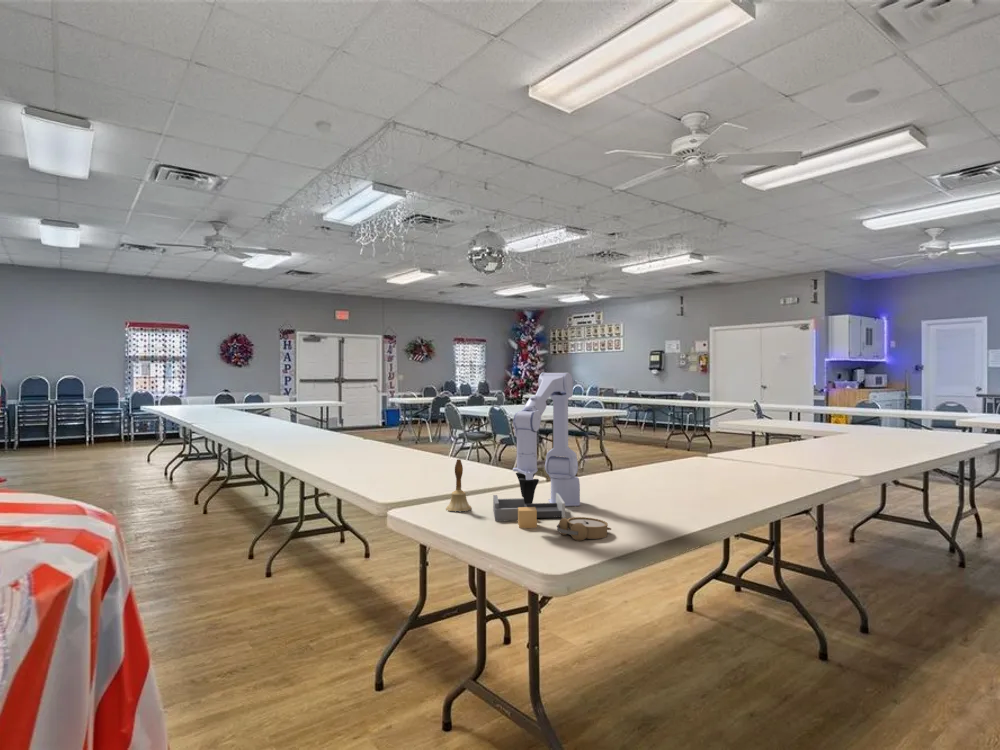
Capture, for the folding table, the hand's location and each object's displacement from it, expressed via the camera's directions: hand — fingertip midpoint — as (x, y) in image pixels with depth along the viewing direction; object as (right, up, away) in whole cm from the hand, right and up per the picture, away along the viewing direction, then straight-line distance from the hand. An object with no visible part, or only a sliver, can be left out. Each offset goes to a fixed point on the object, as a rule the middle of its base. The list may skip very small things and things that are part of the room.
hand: (527, 500), depth 162 cm
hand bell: (-21, -7, +20) cm, 30 cm away
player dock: (-4, -7, +12) cm, 14 cm away
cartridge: (0, -8, 0) cm, 8 cm away
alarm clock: (+14, -8, -9) cm, 19 cm away
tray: (+6, -7, +13) cm, 15 cm away
